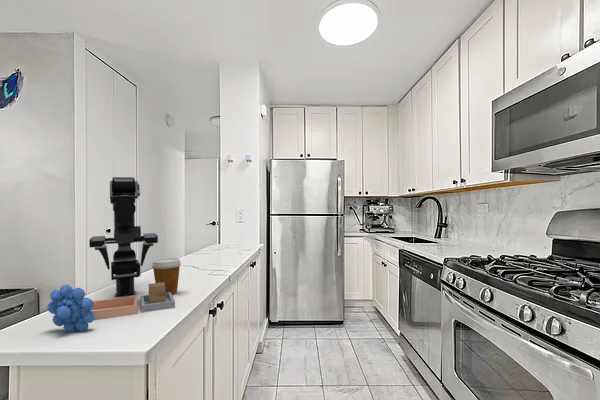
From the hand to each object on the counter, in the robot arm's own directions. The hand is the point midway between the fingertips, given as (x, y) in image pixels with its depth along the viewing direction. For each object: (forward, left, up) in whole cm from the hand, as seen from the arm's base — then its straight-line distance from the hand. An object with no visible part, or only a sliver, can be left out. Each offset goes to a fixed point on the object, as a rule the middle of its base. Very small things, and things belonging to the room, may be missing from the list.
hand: (125, 267), depth 110 cm
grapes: (+20, -12, -12) cm, 26 cm away
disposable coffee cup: (-7, +13, -12) cm, 19 cm away
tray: (+6, +9, -12) cm, 16 cm away
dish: (+7, -4, -12) cm, 14 cm away
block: (+6, +9, -11) cm, 15 cm away
